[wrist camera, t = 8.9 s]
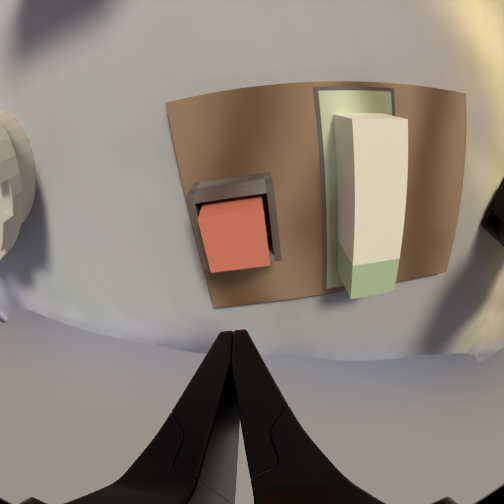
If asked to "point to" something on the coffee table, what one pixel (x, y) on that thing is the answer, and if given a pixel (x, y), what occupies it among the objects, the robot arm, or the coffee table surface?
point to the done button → (234, 233)
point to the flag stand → (14, 179)
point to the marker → (370, 199)
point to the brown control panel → (315, 177)
